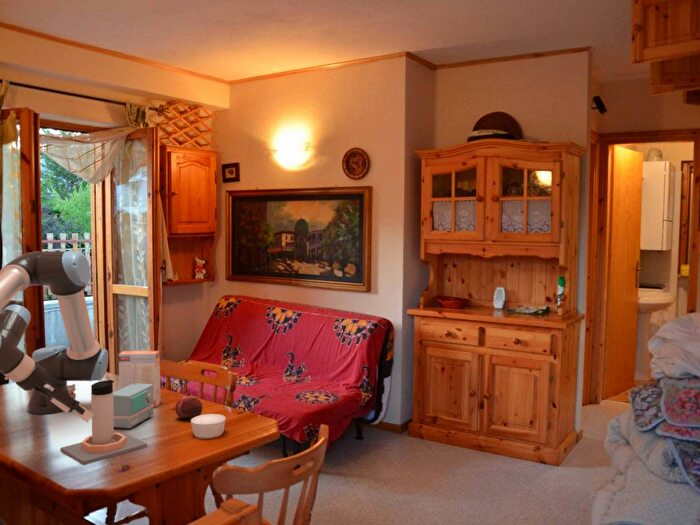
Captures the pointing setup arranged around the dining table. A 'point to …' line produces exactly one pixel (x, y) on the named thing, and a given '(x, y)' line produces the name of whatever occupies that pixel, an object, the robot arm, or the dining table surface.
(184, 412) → the fruit
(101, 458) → the mug stand
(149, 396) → the radio
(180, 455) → the dining table surface
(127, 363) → the cracker box
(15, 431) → the dining table surface
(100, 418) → the travel mug
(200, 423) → the ramekin
